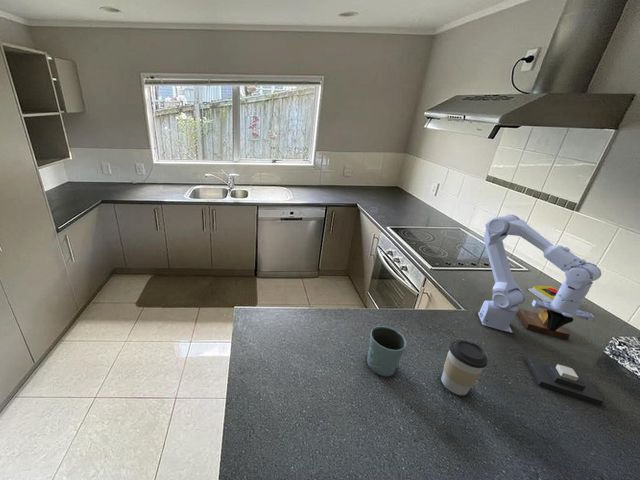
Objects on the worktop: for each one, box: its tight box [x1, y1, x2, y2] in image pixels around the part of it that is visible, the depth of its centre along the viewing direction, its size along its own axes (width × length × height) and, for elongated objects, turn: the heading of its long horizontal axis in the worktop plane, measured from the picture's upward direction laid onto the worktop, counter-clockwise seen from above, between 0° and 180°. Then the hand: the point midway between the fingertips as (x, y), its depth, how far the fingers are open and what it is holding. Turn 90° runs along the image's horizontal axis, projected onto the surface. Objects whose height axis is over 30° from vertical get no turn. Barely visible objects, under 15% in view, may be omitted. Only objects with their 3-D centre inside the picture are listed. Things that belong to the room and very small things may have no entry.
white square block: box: [555, 363, 579, 381], centre depth 86 cm, size 4×4×2 cm
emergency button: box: [527, 285, 559, 302], centre depth 126 cm, size 9×4×15 cm
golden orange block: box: [539, 308, 548, 325], centre depth 109 cm, size 5×2×4 cm, turn 154°
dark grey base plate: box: [526, 357, 604, 406], centre depth 87 cm, size 14×10×4 cm
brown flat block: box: [517, 308, 571, 340], centre depth 111 cm, size 12×10×3 cm
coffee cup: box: [440, 339, 489, 396], centre depth 83 cm, size 9×9×15 cm
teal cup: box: [366, 325, 407, 377], centre depth 89 cm, size 10×10×12 cm
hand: (550, 329), depth 96 cm, fingers closed
